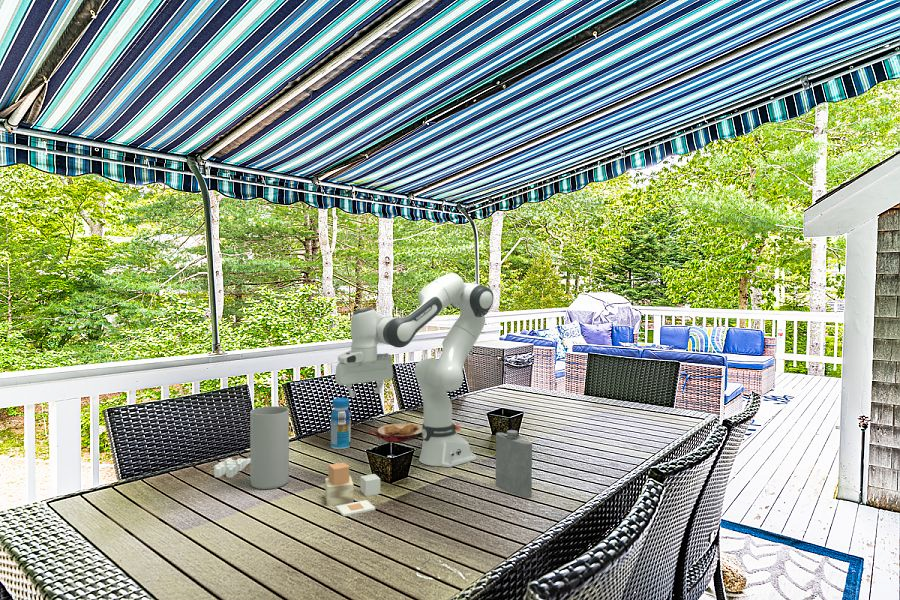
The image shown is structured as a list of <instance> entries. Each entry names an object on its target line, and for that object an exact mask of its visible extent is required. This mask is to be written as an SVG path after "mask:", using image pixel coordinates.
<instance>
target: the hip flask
mask: <svg viewBox="0 0 900 600" xmlns="http://www.w3.org/2000/svg"><path fill="white" fill-rule="evenodd" d="M532 478H533V442H532V441H530V440H529V441H528V440H525V439H522V438H518V430H514V429H510V430H509V429H508V430H506V433H504V432H496V433H495V486H497V487H499V488H500V489H502V490H504V491H506V492H509V493H511V494H514V495H516V496H519V497H521V498H525V499H529V498H532V496H533V495H532V490H533V489H532V487H533V486H532V483H533V482H532V481H533V479H532Z"/></svg>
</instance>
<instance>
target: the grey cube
mask: <svg viewBox="0 0 900 600" xmlns="http://www.w3.org/2000/svg"><path fill="white" fill-rule="evenodd" d="M359 490H360V493H362V494H363V496H365V497H368V496H369V497H370V496H374V495H379V494H381V478H380V477H379V476H378V475H377V474H376V473H372V474H371V473H370V474H367V475H366V474H365V475H361V476H360V489H359Z"/></svg>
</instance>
